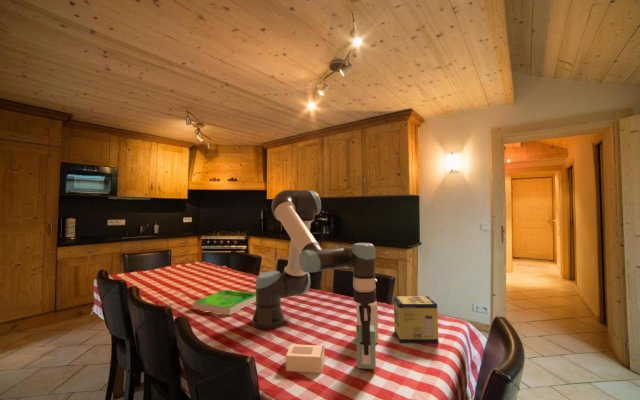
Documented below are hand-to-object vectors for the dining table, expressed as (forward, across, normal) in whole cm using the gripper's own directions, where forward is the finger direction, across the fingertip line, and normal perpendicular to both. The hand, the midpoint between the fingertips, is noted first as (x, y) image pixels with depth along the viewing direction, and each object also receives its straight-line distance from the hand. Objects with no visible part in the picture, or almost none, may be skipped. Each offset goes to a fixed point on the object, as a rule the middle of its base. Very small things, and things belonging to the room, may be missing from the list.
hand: (365, 358), depth 95 cm
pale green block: (+2, 0, 0) cm, 2 cm away
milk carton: (+3, +21, -2) cm, 21 cm away
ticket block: (+3, 0, +20) cm, 21 cm away
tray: (+4, +57, +76) cm, 95 cm away
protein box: (+3, +25, -22) cm, 33 cm away
